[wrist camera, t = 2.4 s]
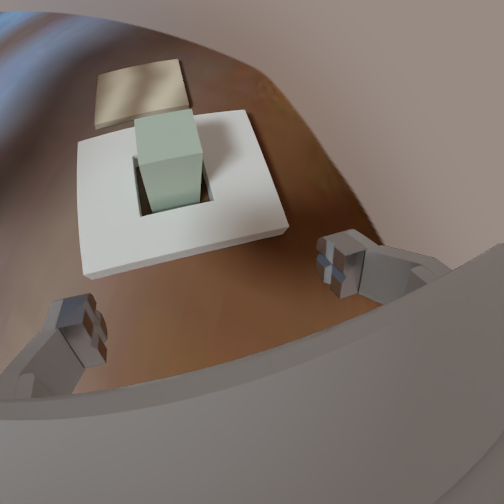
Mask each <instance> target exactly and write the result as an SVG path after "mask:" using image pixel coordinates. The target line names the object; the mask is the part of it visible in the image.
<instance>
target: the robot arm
mask: <svg viewBox="0 0 504 504" xmlns="http://www.w3.org/2000/svg"><path fill="white" fill-rule="evenodd" d="M316 249H317V250H318V251H319V255H318V257H317V258H316V270H317V274H318V275H319V277H320V279H321V280H322V281H323V282H325V283H328V284H330V289H331V290H332V291H333V292H334V294H335V295H336V296H337V297H338V298H339V299H341V298H344V297H347V296H350V295H353V294H356V293H359V294H360V295H363V296H365V297H367V298H370V299H372V300H374V301H376V302H379V303H381V304H383V305H382V306H380V307H378V308H375V309H373V310H371V311H369V312H366V313H364V314H362V315H359V316H357V317H355V318H352V319H350V320H347V321H345V322H342V323H340V324H337V325H335V326H332V327H330V328H327V329H325V330H322V331H319V332H317V333H314V334H311V335H309V336H306V337H303V338H300V339H298V340H295V341H292V342H289V343H286V344H283V345H280V346H277V347H274V348H271V349H268V350H265V351H262V352H259V353H256V354H253V355H250V356H246V357H243V358H240V359H236V360H233V361H230V362H226V363H223V364H219V365H216V366H212V367H208V368H204V369H201V370H197V371H193V372H189V373H185V374H180V375H176V376H172V377H168V378H163V379H159V380H154V381H149V382H144V383H139V384H134V385H129V386H123V387H118V388H112V389H106V390H99V391H93V392H85V393H78V394H72V392H73V390H74V388H75V386H76V384H77V383H78V381H79V379H80V377H81V375H82V374H83V372H84V370H85V369H84V368H88V367H93V366H98V365H102V364H106V356H107V349H106V347H105V345H104V343H105V342H106V340H107V328H106V323H105V320H104V318H103V316H102V314H101V313H100V312H99V311H97V310H96V301H95V299H94V297H93V295H92V294H91V293H87V294H83V295H78V296H74V297H69V298H64V299H60V300H56V301H53V302H52V303H51V306H50V309H49V312H48V315H47V318H46V321H45V324H44V328H43V331H42V332H39V333H38V334H37V335H36V336H35V337H34V338H33V339H32V340H31V341H30V342H29V343H28V344H27V345H26V347H25V348H24V349H23V350H22V351H21V352H20V353H19V354H18V355H17V356H16V358H15V359H14V360H13V361H12V362H11V363H10V364H9V366H8V367H7V368H6V369H5V370H4V371H3V373H2V374H1V375H0V504H504V244H503V243H502V244H501V243H500V244H497V245H495V246H493V247H492V248H490V249H489V250H487V251H485V252H484V253H482V254H480V255H479V256H477V257H475V258H474V259H472V260H470V261H468V262H467V263H465V264H463V265H461V266H460V267H458V268H456V269H454V270H451V269H450V268H448V267H447V266H446V265H444V264H443V263H441V262H440V261H438V260H437V259H435V258H433V257H429V256H424V255H421V254H417V253H413V252H409V251H405V250H400V249H396V248H392V247H388V246H384V245H381V246H378V245H377V244H376V243H374V242H373V241H371V240H370V239H368V238H367V237H365V236H364V235H362V234H361V233H359V232H358V231H356V230H355V229H349V230H346V231H342V232H339V233H335V234H332V235H328V236H324V237H321V238H318V241H317V248H316Z"/></svg>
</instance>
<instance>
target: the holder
mask: <svg viewBox="0 0 504 504" xmlns="http://www.w3.org/2000/svg"><path fill="white" fill-rule="evenodd" d="M194 120H195V124H196V128H197V132H198V135H199V139H200V143H201V147H202V150H203V160H202V172H203V176H204V180H205V183H206V187H207V191H208V195H209V198H210V201H209V202H205V203H200V204H195V205H190V206H186V207H181V208H176V209H172V210H167V211H163V212H159V213H154V214H150V215H146V216H142V211H141V205H140V198H139V191H138V184H137V176H136V168H135V167H139V164H138V155H137V146H136V136H135V127H132V128H127V129H123V130H119V131H115V132H111V133H108V134H104V135H100V136H97V137H93V138H90V139H87V140H83V141H80V142H78V153H77V207H78V225H79V238H80V249H81V258H82V266H83V274H84V275H85V276H86V277H88V278H89V279H91V280H93V279H97V278H101V277H105V276H109V275H113V274H117V273H121V272H125V271H129V270H133V269H138V268H142V267H146V266H150V265H154V264H158V263H162V262H167V261H171V260H175V259H179V258H183V257H187V256H192V255H196V254H200V253H204V252H209V251H213V250H217V249H221V248H226V247H230V246H234V245H238V244H243V243H247V242H251V241H256V240H260V239H264V238H269V237H273V236H277V235H282V234H283V233H284V232H285V231H286V230H287V229H288V227H289V225H288V222H287V219H286V216H285V213H284V210H283V208H282V205H281V202H280V199H279V197H278V194H277V191H276V189H275V186H274V183H273V180H272V178H271V175H270V172H269V170H268V167H267V165H266V162H265V159H264V157H263V154H262V152H261V149H260V146H259V144H258V141H257V139H256V136H255V134H254V131H253V129H252V126H251V124H250V121H249V119H248V116H247V114H246V111H245V110H236V111H226V112H217V113H209V114H202V115H195V116H194Z"/></svg>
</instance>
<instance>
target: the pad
mask: <svg viewBox="0 0 504 504" xmlns="http://www.w3.org/2000/svg"><path fill="white" fill-rule="evenodd" d="M186 109H189V102H188V98H187V94H186V90H185V86H184V82H183V78H182V74H181V70H180V66H179V61H178V59H174V60H167V61H160V62H154V63H149V64H143V65H138V66H133V67H129V68H124V69H120V70H116V71H112V72H108V73H104V74H100V75H98V82H97V92H96V105H95V123H94V126H95V128H96V130H97V129H100V128H104V127H107V126H111V125H115V124H119V123H123V122H127V121H132V120H134V119H138V118H143V117H147V116H152V115H157V114H163V113H168V112H174V111H180V110H186Z"/></svg>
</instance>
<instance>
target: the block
mask: <svg viewBox="0 0 504 504" xmlns="http://www.w3.org/2000/svg"><path fill="white" fill-rule="evenodd" d="M134 124H135V136H136V146H137V155H138V164H139V168H140V172H141V176H142V179H143V183H144V186H145V190H146V193H147V197H148V200H149V203H150V207H151V210H152V213H158V212H162V211H166V210H171V209H175V208H180V207H184V206H189V205H194V204H198V203H200V190H201V174H202V160H203V150H202V147H201V143H200V139H199V135H198V132H197V128H196V124H195V120H194V116H193V112H192V109H186V110H180V111H174V112H168V113H163V114H157V115H152V116H147V117H143V118H138V119H134Z"/></svg>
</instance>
